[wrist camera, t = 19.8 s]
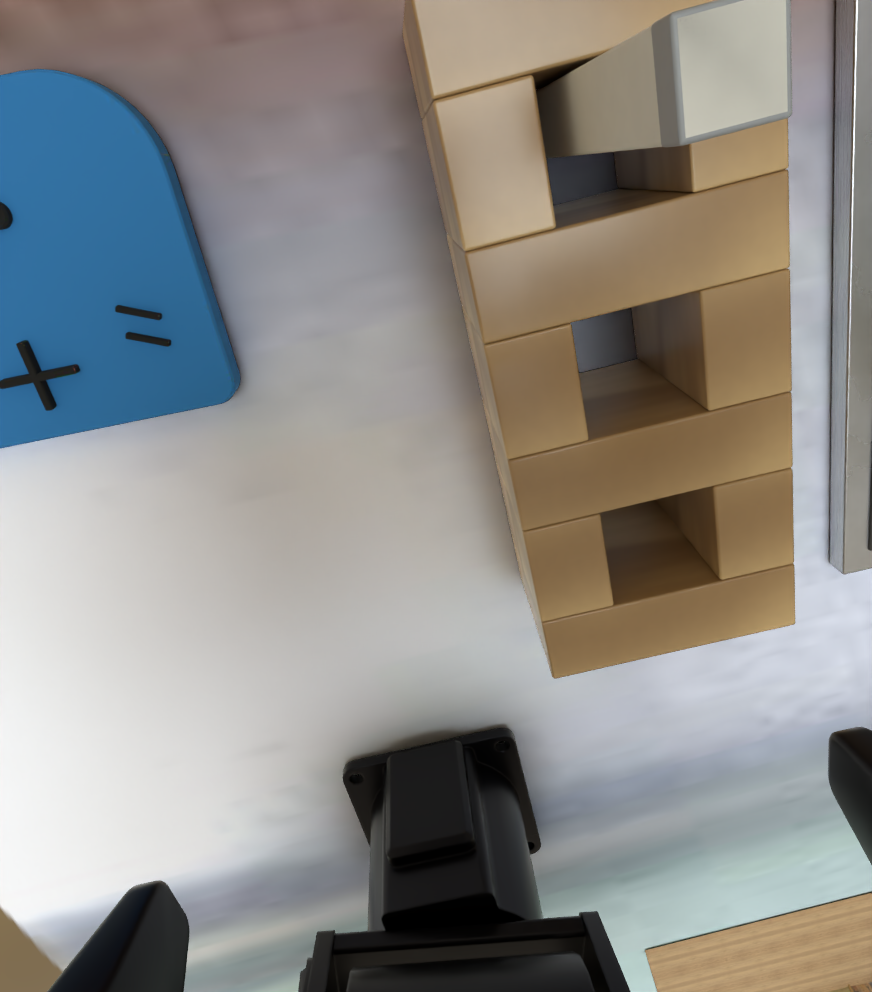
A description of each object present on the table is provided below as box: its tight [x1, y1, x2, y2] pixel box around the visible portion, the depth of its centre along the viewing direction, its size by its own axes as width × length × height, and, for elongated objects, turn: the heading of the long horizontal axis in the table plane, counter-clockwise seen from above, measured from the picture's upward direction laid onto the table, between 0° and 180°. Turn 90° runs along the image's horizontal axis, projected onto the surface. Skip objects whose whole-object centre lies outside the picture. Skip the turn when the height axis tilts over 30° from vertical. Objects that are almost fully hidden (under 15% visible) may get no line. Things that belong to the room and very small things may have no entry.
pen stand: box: [403, 0, 795, 679], centre depth 17 cm, size 16×6×5 cm, turn 13°
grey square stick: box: [536, 0, 792, 158], centre depth 13 cm, size 1×1×10 cm
